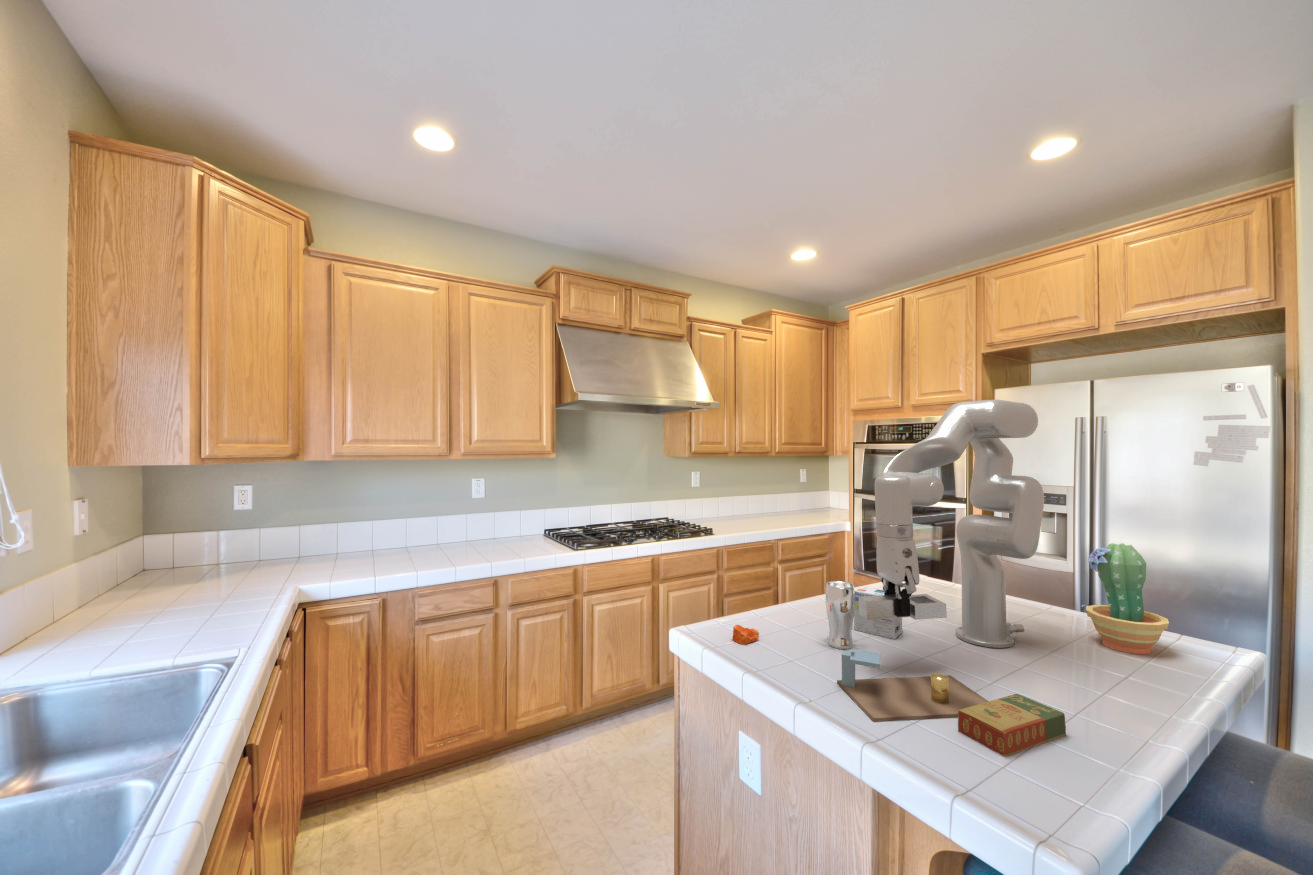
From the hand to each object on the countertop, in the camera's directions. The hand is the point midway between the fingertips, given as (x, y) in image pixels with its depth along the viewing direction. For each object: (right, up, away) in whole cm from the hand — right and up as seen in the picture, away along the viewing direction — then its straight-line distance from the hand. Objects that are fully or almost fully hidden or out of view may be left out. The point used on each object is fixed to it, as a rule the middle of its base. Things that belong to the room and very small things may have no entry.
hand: (897, 612), depth 115 cm
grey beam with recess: (+1, -1, 0) cm, 1 cm away
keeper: (-12, -12, -11) cm, 20 cm away
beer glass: (-8, -13, +13) cm, 20 cm away
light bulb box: (+5, -13, +23) cm, 27 cm away
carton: (+7, -12, -26) cm, 30 cm away
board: (-3, -12, -14) cm, 19 cm away
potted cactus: (+62, -13, +11) cm, 64 cm away
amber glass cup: (+1, -12, -16) cm, 20 cm away
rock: (-31, -14, +17) cm, 38 cm away
